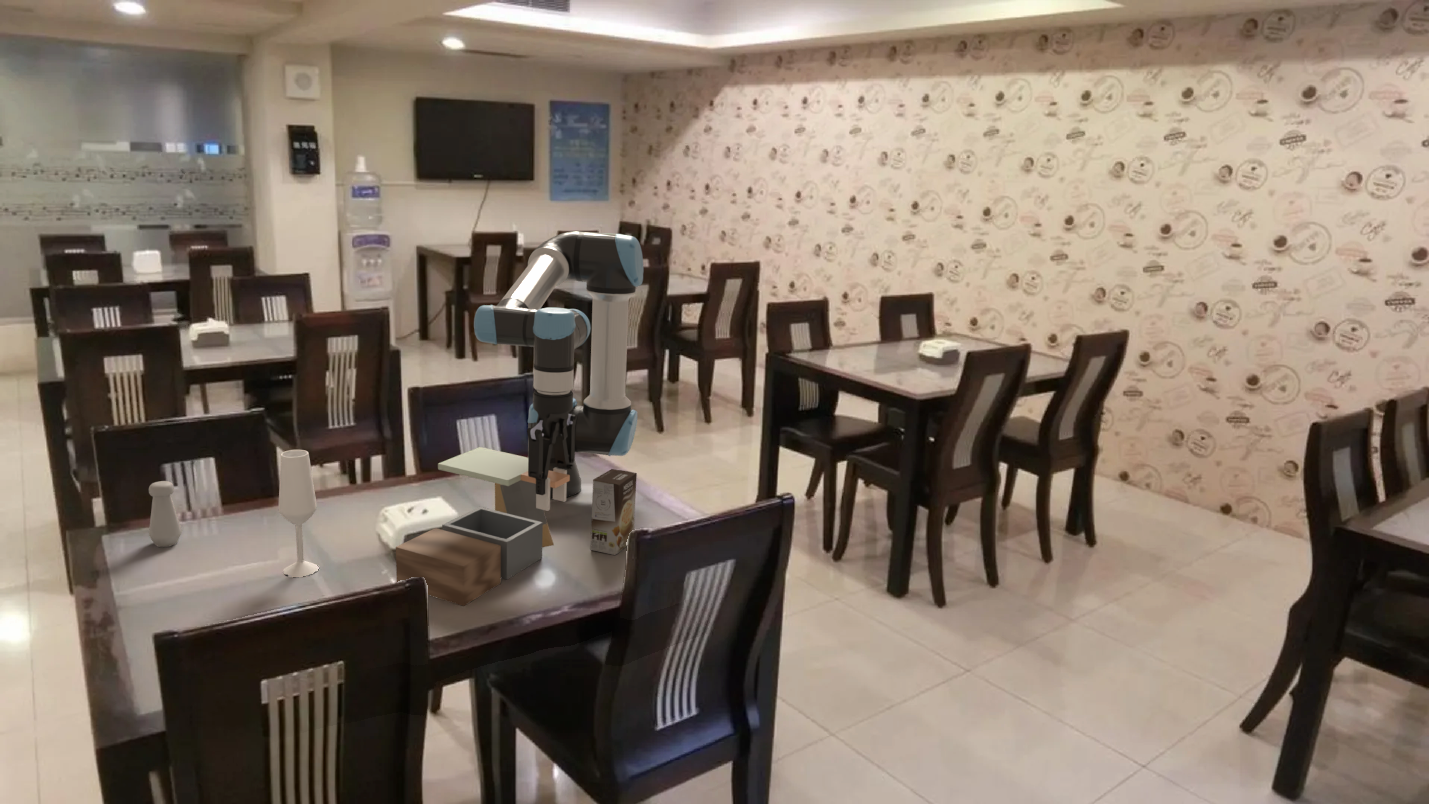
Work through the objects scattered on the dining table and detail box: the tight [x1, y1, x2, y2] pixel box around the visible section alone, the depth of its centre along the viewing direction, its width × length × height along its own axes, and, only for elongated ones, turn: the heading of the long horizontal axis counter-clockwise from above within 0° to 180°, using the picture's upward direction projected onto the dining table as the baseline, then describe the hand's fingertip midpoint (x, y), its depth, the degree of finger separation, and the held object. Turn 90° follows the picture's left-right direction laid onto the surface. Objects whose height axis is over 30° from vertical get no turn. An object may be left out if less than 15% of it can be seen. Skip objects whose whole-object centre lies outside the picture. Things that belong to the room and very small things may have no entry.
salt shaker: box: [148, 480, 183, 548], centre depth 185 cm, size 6×6×13 cm
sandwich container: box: [494, 480, 555, 548], centre depth 200 cm, size 9×15×15 cm, turn 32°
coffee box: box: [589, 468, 638, 556], centre depth 198 cm, size 9×6×16 cm
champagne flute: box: [278, 449, 320, 578], centre depth 176 cm, size 7×7×24 cm
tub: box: [441, 506, 543, 580], centre depth 188 cm, size 12×16×8 cm
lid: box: [437, 446, 570, 488], centre depth 182 cm, size 13×25×1 cm, turn 66°
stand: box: [395, 527, 502, 607], centre depth 176 cm, size 11×16×8 cm
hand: (551, 504), depth 180 cm, fingers closed on lid, 5 cm apart
